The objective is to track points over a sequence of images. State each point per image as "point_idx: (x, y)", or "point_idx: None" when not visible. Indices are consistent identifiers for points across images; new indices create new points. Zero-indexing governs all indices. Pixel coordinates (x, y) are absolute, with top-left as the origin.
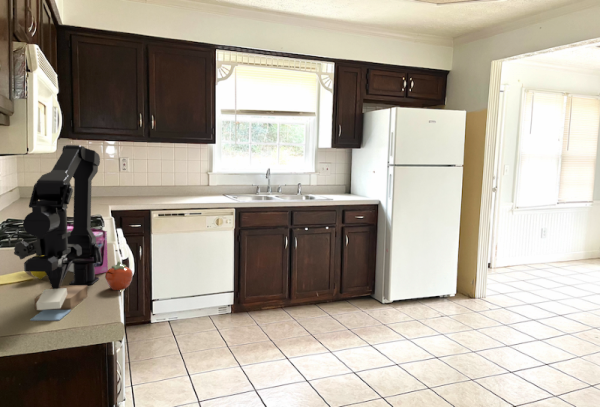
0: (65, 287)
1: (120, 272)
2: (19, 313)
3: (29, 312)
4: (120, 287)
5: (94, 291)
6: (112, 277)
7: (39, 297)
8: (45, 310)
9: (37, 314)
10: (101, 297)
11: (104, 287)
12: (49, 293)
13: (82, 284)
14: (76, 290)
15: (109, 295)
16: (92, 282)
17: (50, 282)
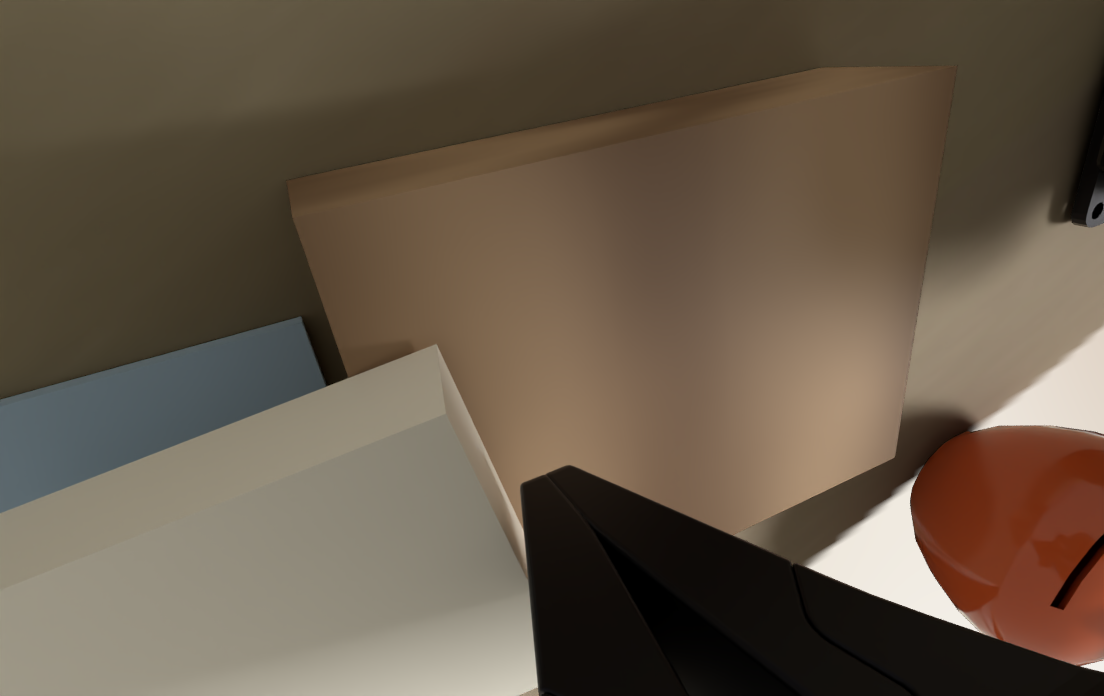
0: (851, 289)
1: (1054, 654)
2: (37, 14)
3: (163, 160)
4: (919, 545)
5: (910, 361)
6: (1005, 586)
7: (369, 266)
8: (278, 368)
9: (78, 392)
10: (766, 519)
11: (988, 364)
12: (307, 600)
13: (1092, 141)
14: (739, 492)
15: (808, 534)
16: (1102, 221)
17: (532, 615)
